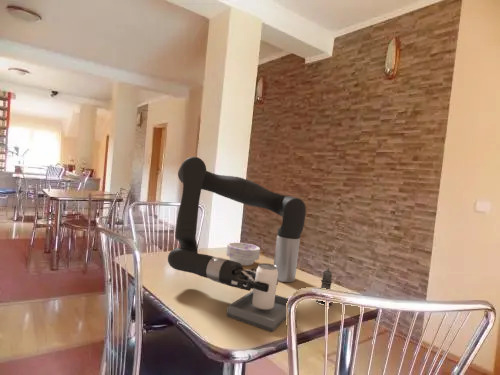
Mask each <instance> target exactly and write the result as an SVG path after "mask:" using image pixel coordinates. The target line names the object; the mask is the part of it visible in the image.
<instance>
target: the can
mask: <svg viewBox="0 0 500 375" xmlns="http://www.w3.org/2000/svg"><path fill="white" fill-rule="evenodd" d="M256 269H257V270H256V277H255V280H256V282H257V281H259V282H263V283H266V284H268V285H269V290H268V292H264V291H260V290H257V289H255V290H254V292H253V300H252V304H253V306H254V307H256V308H258V309H261V310H270V309H272V308H273V307H274V301H275V295H276V292H277V286H278V285H277V278H278V271H277V266H275V265H274V263H273V264H272V263H265V262H262V263H258V265H257V268H256Z"/></svg>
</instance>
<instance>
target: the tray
mask: <svg viewBox="0 0 500 375" xmlns="http://www.w3.org/2000/svg"><path fill="white" fill-rule="evenodd" d="M253 292H254V290H252V291H251V290H250V292H248V293H246V294H245V295H243V296H242V297H240V298H239V299H237V300H235V301H233V302H232V303H229V304H228V305H227V309H226V317H228V318H230V319H234V320H236V321H239V322H242V323H245V324H247V325H250V326H252V327H256V328H259V329H263V330H265V331H267V332H270V333H271V332H272V333H273V332H274V331H275V330H276V329H277V328H278V327H279V326H280V325H281V324H282V323H283V322H284V321H285V320H286V319H287V318H286V303H287V301H288V299H289V298H288V297H286V296H285V297H284V296H281V295H279V294H275V301H274V307H273V308H272V309H270V310H261V309H258V308H256V307H254V306H253V304H252V300H253Z"/></svg>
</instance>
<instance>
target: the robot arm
mask: <svg viewBox="0 0 500 375" xmlns="http://www.w3.org/2000/svg"><path fill="white" fill-rule="evenodd" d="M177 176H178V179H179V181H180V182H181V183H182V194H181V200H180V205H179V208H178V213H177V218H176V224H175V234H174V237H175V239H176V241H177V242H179V246H180V247H176V248H174V249H172V250H170V252H169V253H168V256H167V262H168V265H169V266H170V267H171V268H172V269H174V270H177V271H181V272H186V273H189V274H195V275H197V276H200V277H202V278H206V279H208V280H212V281H213V282H216V283H219V284H222V285H226V286H229V287H231V288H236V289H241V290H244V291H247V292H249V291H250V292H251V290H252V291H253V290H255V289H257V290H260V291H264V292H268V290H269V285H268V284H266V283H263V282H259V281H257V282H256V280H255V277H256V270H257V268H254V267H252V268H251V269H247V268H246V269H244V268H243V265H241V264H240V263H239V262H235V261H231V260H230V259H227V258H223V257H219V256H218V257H216V256H213V255H210V254H205V253H204V254H203V253H198V244H197V236H196V235H197V230H198V229H197V228H198V216H199V206H200V198H201V195H202V194H201V193H202V192H201V191H202V190H203V191H208V192H210V193H214V194H216V195H219V196H221V197H223V198H225V199H226V198H227V199H230V200H232V201H234V202H237V203H239V204H244V205H246V206H249V207H254V208H259V209H260V208H261V209H265V210H267V211H268V210H269V211H270V212H273V213H274V214H277V215H278V216H281V217H282V219H281V220H282V221H281V222H282V223H281V225H280V227H278V229H277V234H276V242H275V251H274V260H273V265H275V266H277V271H278V278H277V286H278V284H279V282H283V283H292V282H295V281H296V276H297V275H296V274H297V268H298V267H297V265H298V258H299V251H300V250H299V249H300V241H301V234H302V233H303V231H304V227H305V226H304V225H305V220H306V213H307V210H306V208H307V207H306V204H305V202H304V201H303V199H300V198H298V197H294V196H289V195H285V194H280V193H277V192H273V191H271V190H269V189H267V188H265V187H264V186H262V185H260V184H259V183H256V182H254V181H251V180H248V179H246V178H243V177H239V176H233V175H222V174H217V173H213V172H211V171H208V170H207V166H206V164H205V162H204V160H203V159H202V158H200V157H199V156H190V157H188V158H186V159H185V160H184V161H183V162H182V164H181V165H180V167H179V169H178V172H177Z"/></svg>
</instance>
